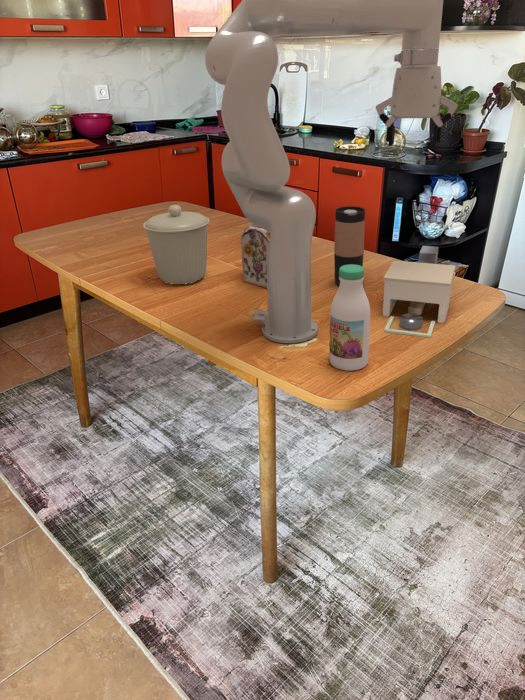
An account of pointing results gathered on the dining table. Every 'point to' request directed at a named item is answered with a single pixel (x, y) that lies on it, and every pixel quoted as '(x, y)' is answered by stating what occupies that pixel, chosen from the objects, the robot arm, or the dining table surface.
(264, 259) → the decorative jar
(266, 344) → the dining table surface
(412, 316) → the ball
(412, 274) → the white open box
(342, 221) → the travel mug
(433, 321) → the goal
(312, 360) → the dining table surface
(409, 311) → the grey block on stick
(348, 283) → the milk bottle
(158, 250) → the canister
